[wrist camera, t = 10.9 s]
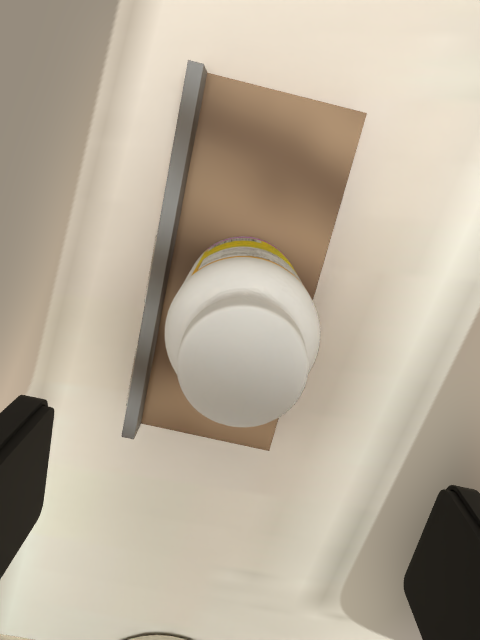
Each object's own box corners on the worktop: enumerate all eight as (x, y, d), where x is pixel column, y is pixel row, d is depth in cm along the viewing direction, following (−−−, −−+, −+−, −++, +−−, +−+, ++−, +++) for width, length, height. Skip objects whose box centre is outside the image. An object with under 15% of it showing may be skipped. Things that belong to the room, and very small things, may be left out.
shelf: (267, 435, 34) (270, 468, 30) (133, 406, 33) (118, 435, 29) (358, 117, 27) (376, 107, 23) (193, 76, 27) (184, 59, 23)
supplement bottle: (250, 359, 30) (254, 485, 17) (168, 296, 29) (108, 384, 16) (319, 279, 28) (377, 356, 16) (234, 210, 27) (224, 235, 15)
